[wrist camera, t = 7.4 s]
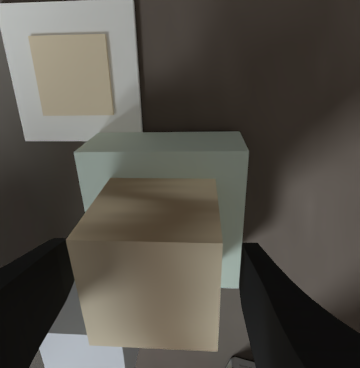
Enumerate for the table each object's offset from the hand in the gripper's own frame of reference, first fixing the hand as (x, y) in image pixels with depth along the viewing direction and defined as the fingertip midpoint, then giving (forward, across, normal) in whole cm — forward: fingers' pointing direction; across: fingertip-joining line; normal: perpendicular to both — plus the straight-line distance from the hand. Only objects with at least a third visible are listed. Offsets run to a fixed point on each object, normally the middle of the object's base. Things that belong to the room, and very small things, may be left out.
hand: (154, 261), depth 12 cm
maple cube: (+3, 0, 0) cm, 3 cm away
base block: (+6, 0, 0) cm, 6 cm away
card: (+7, +5, -7) cm, 11 cm away
